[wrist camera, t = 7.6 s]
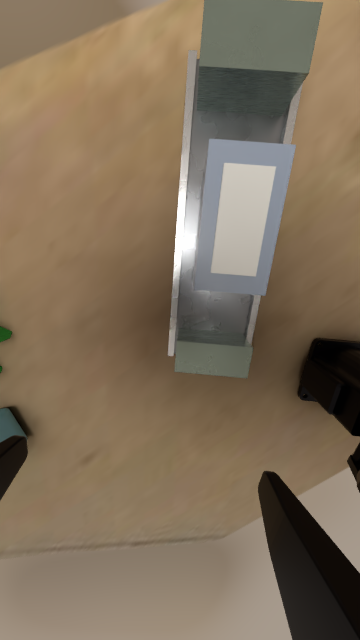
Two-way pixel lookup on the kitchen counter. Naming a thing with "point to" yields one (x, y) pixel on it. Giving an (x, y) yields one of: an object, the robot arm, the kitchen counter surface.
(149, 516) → the kitchen counter surface
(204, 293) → the rail
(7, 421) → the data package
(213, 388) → the kitchen counter surface
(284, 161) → the block
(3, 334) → the pipe clamp
